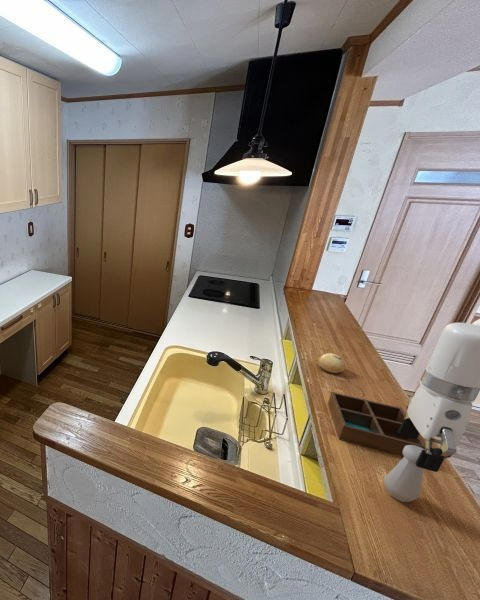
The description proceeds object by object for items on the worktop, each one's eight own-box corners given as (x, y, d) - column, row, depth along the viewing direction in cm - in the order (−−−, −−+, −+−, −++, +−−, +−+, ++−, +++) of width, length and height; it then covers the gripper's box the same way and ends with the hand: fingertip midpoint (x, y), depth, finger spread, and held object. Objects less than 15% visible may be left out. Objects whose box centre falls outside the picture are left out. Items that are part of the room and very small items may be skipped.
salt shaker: (390, 502, 72) (411, 458, 67) (375, 480, 77) (393, 438, 72) (422, 508, 70) (446, 463, 66) (404, 486, 75) (425, 442, 71)
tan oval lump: (318, 372, 120) (323, 355, 118) (315, 362, 127) (319, 346, 124) (344, 378, 117) (350, 361, 114) (340, 367, 123) (345, 351, 121)
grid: (327, 403, 103) (331, 391, 102) (396, 420, 96) (401, 408, 94) (339, 439, 89) (343, 425, 88) (420, 461, 82) (427, 447, 80)
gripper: (504, 417, 54) (461, 491, 60) (452, 368, 69) (421, 431, 75) (444, 404, 58) (408, 475, 64) (406, 359, 72) (380, 420, 78)
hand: (415, 451), depth 69 cm, fingers open, 9 cm apart
